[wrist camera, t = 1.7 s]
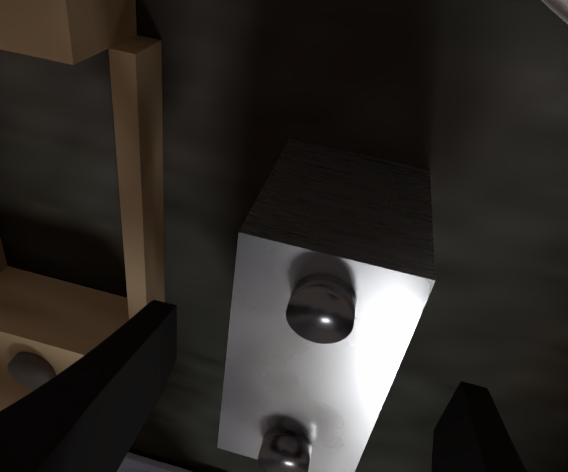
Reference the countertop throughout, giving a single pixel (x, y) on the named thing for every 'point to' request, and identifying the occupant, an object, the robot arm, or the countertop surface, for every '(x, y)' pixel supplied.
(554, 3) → the medicine bottle
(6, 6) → the wooden frame
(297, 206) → the white box with knobs
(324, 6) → the countertop surface
